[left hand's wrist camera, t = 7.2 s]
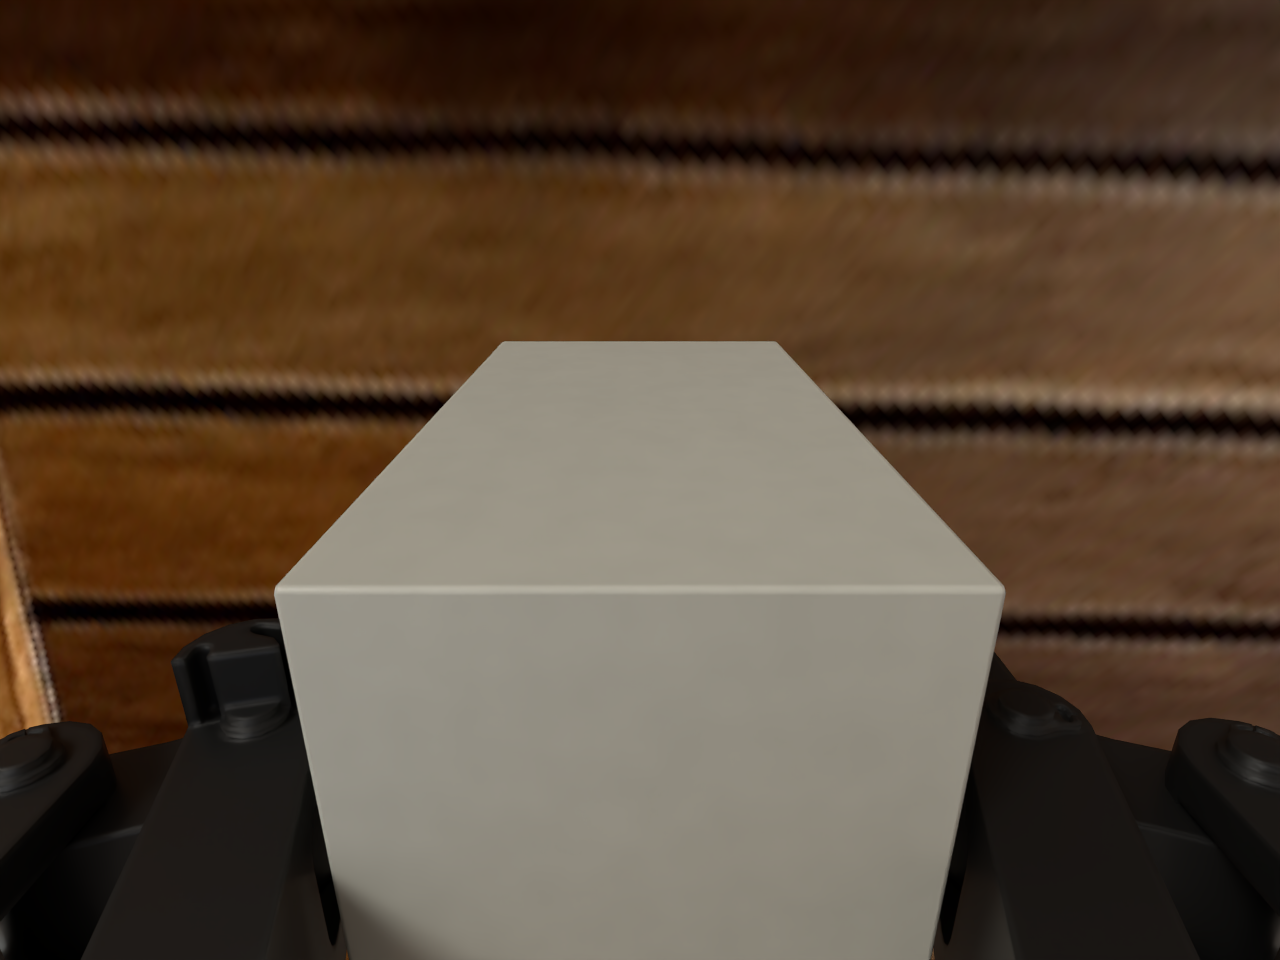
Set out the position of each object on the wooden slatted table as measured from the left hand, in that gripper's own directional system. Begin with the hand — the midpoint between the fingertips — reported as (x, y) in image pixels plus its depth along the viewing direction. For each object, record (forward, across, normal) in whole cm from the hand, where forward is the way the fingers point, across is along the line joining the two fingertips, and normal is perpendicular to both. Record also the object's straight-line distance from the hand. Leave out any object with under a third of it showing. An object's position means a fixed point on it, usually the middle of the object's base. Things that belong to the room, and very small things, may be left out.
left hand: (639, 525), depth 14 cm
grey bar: (0, 0, +8) cm, 9 cm away
